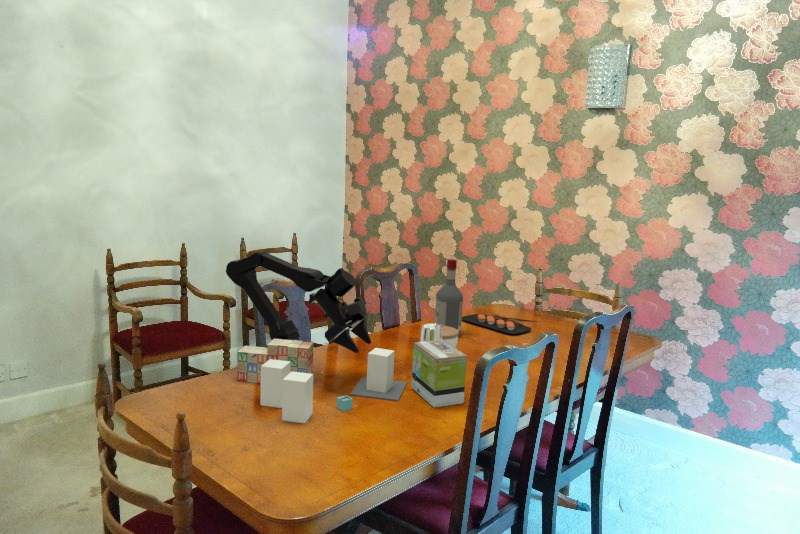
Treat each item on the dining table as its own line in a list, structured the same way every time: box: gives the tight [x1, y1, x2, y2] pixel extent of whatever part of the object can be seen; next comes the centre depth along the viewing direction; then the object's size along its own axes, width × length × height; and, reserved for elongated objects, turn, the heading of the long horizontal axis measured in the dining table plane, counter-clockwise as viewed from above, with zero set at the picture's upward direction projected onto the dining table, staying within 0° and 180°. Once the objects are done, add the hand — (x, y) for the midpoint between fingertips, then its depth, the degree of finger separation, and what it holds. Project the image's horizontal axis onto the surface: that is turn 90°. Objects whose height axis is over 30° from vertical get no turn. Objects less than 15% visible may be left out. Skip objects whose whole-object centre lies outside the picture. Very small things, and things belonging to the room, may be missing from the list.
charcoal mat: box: [349, 376, 408, 402], centre depth 173 cm, size 14×14×1 cm
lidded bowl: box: [440, 324, 459, 349], centre depth 206 cm, size 13×13×11 cm
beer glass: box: [419, 323, 442, 342], centre depth 189 cm, size 7×7×15 cm
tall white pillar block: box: [281, 371, 314, 424], centre depth 151 cm, size 6×6×11 cm
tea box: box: [411, 339, 468, 409], centre depth 169 cm, size 15×10×15 cm, turn 24°
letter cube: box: [336, 394, 354, 412], centre depth 159 cm, size 3×3×3 cm
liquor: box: [434, 258, 464, 338], centre depth 228 cm, size 9×9×30 cm
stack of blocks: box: [236, 339, 314, 384], centre depth 175 cm, size 21×6×12 cm, turn 83°
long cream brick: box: [259, 359, 291, 409], centre depth 159 cm, size 6×6×11 cm
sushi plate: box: [461, 313, 540, 335], centre depth 253 cm, size 29×30×4 cm
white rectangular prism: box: [366, 347, 396, 393], centre depth 172 cm, size 6×6×11 cm
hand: (364, 347), depth 173 cm, fingers open, 9 cm apart
